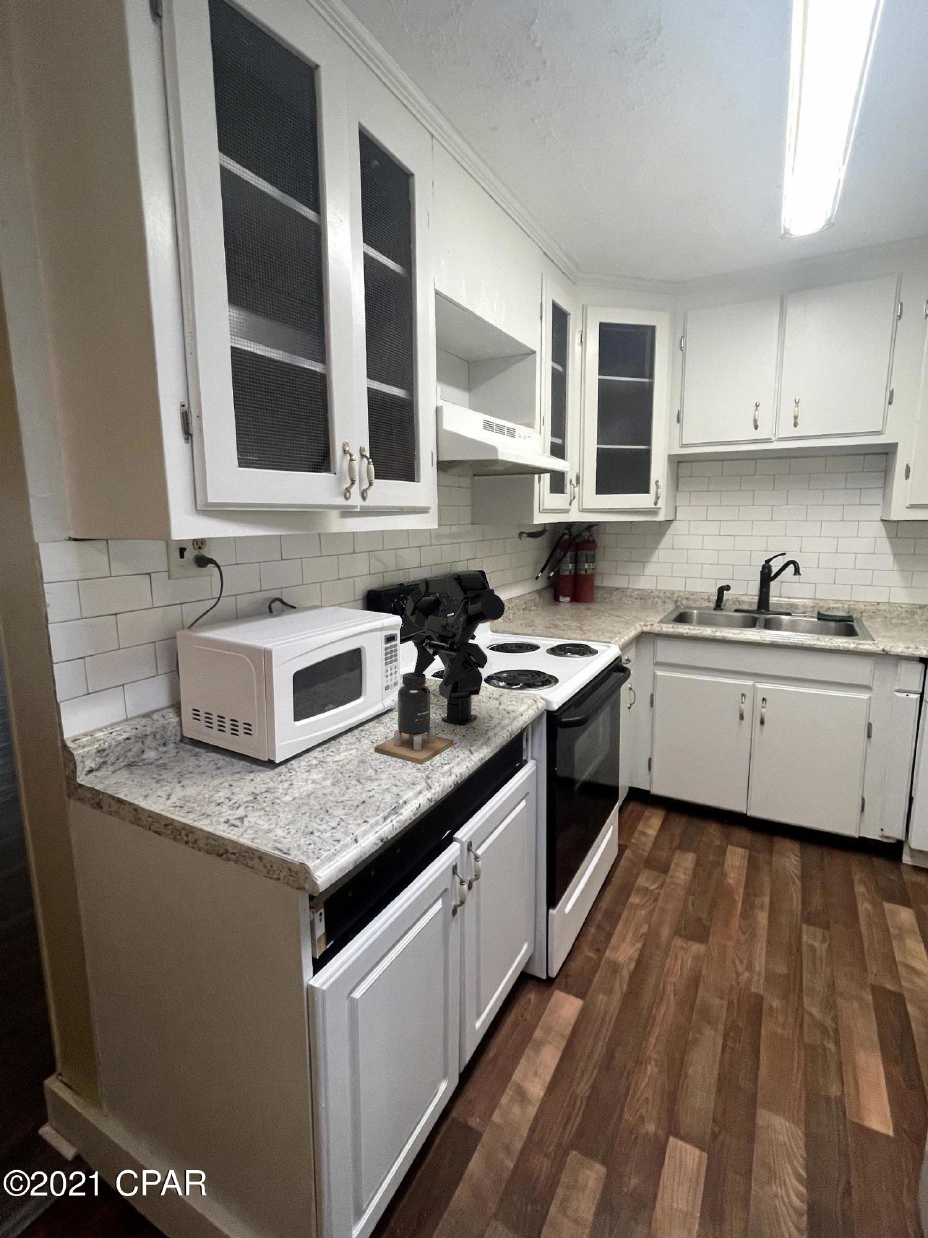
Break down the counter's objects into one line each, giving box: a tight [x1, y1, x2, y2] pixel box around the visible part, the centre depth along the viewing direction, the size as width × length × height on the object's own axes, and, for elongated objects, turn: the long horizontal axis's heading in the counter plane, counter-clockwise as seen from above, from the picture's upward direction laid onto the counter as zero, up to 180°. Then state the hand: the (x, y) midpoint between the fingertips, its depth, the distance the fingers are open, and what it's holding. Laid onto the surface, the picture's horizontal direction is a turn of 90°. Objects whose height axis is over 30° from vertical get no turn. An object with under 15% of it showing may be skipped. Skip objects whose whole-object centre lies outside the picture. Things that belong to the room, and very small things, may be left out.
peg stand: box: [374, 726, 455, 765], centre depth 124 cm, size 12×12×4 cm
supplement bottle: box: [397, 671, 431, 735], centre depth 123 cm, size 7×7×12 cm
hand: (429, 681), depth 126 cm, fingers open, 9 cm apart
